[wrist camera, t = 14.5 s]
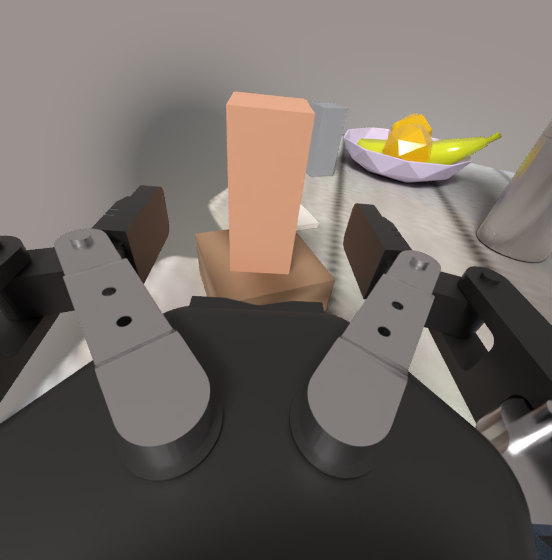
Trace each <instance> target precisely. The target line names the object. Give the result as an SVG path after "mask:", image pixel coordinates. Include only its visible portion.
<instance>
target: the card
mask: <svg viewBox="0 0 552 560" xmlns="http://www.w3.org/2000/svg"><path fill="white" fill-rule="evenodd" d="M318 225H319V222H318V221H317V220H316V219H315V218H314V217H313V216H312V215H311V214H310V213H309V212H308V211H307V210H306V209H305V208H304V207H303V206H302V205H301V204H300V210H299V216H298V222H297V228H296V231H297V230H304V229H311V228H318Z"/></svg>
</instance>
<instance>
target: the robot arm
mask: <svg viewBox="0 0 552 560" xmlns="http://www.w3.org/2000/svg"><path fill="white" fill-rule="evenodd" d="M168 234H169V221H168V215H167V209H166V203H165V198H164V193H163V190H162V188H161V187H157V186H144V185H141V186H139V188H138V189H137V190H136V191H135V192H134V193H133V194H132V195H131V196H130V197H128V196H127V197H125V198H123V199H121V200H119V201H117V202H116V203H115V204H114V205H113V206H112V207H111V208H110V209H109V210H108V211H107V212H106V214H105V215H103V217H102V218H101V219H100V220H99V221H98V222H97V223H96V224H95V225H94V226H93V227H92V228H91V229H79V230H74V231H71V232H68V233H66V234H64V235H62V236H60V237H59V238H58V239H57V240H56V241H55V243H54V247H53V248H44V249H35V250H26V248H25V247H24V245H23V243H22V242H21V240H20V239H18V238H16V237H13V236H0V402H1V400H2V399H3V398H4V396H5V395H6V393H7V392H8V390H9V389H10V387H11V386H12V384H13V383H14V381H15V380H16V378H17V377H18V375H19V374H20V372H21V371H22V369H23V368H24V366H25V365H26V363H27V362H28V360H29V359H30V357H31V356H32V354H33V353H34V351H35V350H36V349H37V347H38V346H39V344H40V343H41V341H42V340H43V338H44V337H45V335H46V333H47V332H48V331H49V329H50V328H51V326H52V324H53V323H54V322H55V320H56V319H57V317H58V315H59V314H60V313H62V312H68V311H74V310H75V312H76V314H77V317H78V320H79V323H80V325H81V328H82V331H83V333H84V336H85V339H86V342H87V344H88V347H89V350H90V353H91V355H92V358H93V360H92V361H91V362H89V363H88V364H87V365H85V366H84V367H82V368H81V369H79V370H78V371H76V372H75V373H73V374H72V375H71V376H69V377H68V378H66V379H65V380H63V381H62V382H60V383H59V384H58V385H56V386H55V387H53V388H52V389H50V390H49V391H47V392H46V393H44V394H43V395H42V396H40V397H39V398H37V399H36V400H34V401H33V402H31V403H30V404H28V405H27V406H26V407H24V408H23V409H21V410H20V411H18V412H17V413H15V414H14V415H12V416H11V417H10V418H8V419H7V420H5V421H4V422H2V423H1V424H0V560H539V559H538V555H537V551H536V546H535V542H534V536H533V535H538V536H539V537H540V538H541V539H542V540H544V541H545V542H546V543H547V544H548V545H550V546H551V547H552V325H551V324H550V323H549V322H548V321H547V320H546V319H545V318H544V317H543V316H542V315H541V314H540V313H539V312H538V311H537V310H536V309H535V308H534V307H533V306H532V305H531V304H530V302H529V301H528V300H527V299H526V298H525V297H524V296H523V295H522V294H521V293H520V292H519V291H518V290H517V289H516V288H515V287H514V286H513V285H512V284H511V283H510V282H509V281H508V280H507V279H506V278H505V277H503V276H502V275H500V274H498V273H497V272H495V271H492V270H490V269H487V268H483V267H476V266H474V267H469V268H468V269H467V270H466V271H465V273H464V274H463V275H462V277H460V276H456V275H452V274H448V273H444V272H441V266H440V264H439V263H438V262H437V261H436V260H435V259H434V258H432V257H431V256H429V255H427V254H424V253H422V252H418V251H413V250H412V249H411V248H410V246H409V245H408V244H407V242H406V241H405V240H404V238H403V237H401V236H402V235H401V234H400V233H399V231H398V230H397V228H396V227H395V226H394V224H393V223H392V222H390V221H389V220H387V219H386V218H385V217H382V216H381V214H380V213H379V211H378V210H377V208H376V207H375V206H374V205H370V204H358V203H356V204H355V205H354V207H353V209H352V212H351V216H350V219H349V222H348V225H347V229H346V232H345V235H344V242H343V246H344V250H345V253H346V255H347V258H348V260H349V263H350V265H351V268H352V271H353V273H354V276H355V278H356V281H357V283H358V286H359V288H360V291H361V294H362V296H363V299H366V300H365V302H364V303H363V305H362V306H361V308H360V309H359V311H358V312H357V314H356V315H355V317H354V318H353V320H352V321H351V323H349V322H348V321H346V320H344V319H342V318H340V317H338V316H336V315H333V314H330V313H327V312H324V308H323V303H322V302H306V301H287V302H280V303H273V304H266V305H254V304H250V303H245V302H241V301H237V300H233V299H229V298H223V297H202V296H192V298H191V302H190V305H189V306H185V307H180V308H176V309H173V310H170V311H168V312H165V313H163V314H162V312H161V310H160V309H159V307H158V306H157V304H156V303H155V301H154V300H153V298H152V297H151V295H150V293H149V292H148V290H147V289H146V287H145V286H144V283H145V281H146V279H147V277H148V275H149V273H150V271H151V269H152V267H153V265H154V263H155V261H156V259H157V257H158V255H159V253H160V251H161V249H162V247H163V245H164V243H165V241H166V239H167V237H168ZM477 237H478V238H479V239H480V241H482V242H483V243H484V244H485V245H487V246H488V247H489V248H491V249H493V250H495V251H496V252H499V253H501V254H503V255H505V256H508V257H511V258H514V259H518V260H522V261H527V262H541V261H543V260H545V259H546V258H547V257H548V256H549V255H550V253H551V252H552V119H551V121H550V123H549V124H548V126H547V127H546V128H545V130H544V131H543V133H542V135H541V136H540V138H539V139H538V141H537V142H536V144H535V145H534V147H533V148H532V150H531V151H530V153H529V154H528V156H527V157H526V159H525V160H524V162H523V163H522V165H521V166H520V168H519V169H518V171H517V172H516V174H515V175H514V177H513V178H512V180H511V181H510V183H509V184H508V186H507V187H506V189H505V190H504V192H503V193H502V195H501V196H500V198H499V199H498V201H497V202H496V204H495V205H494V207H493V208H492V209H491V211H490V212H489V214H488V215H487V217H486V218H485V220H484V221H483V223H482V224H481V226H480V227H479V229H478V230H477ZM484 323H485V324H486V325H487V327H488V328H489V330H490V331H491V332H492V334H493V337H494V345H493V348H492V349H491V350H490V351H489V352H488V351H487V349H486V348H485V346H484V345H483V343H482V342H481V340H480V339H479V337H478V336H477V334H476V333H475V332H476V331H477V330H478V329H479V328H480V327H481V326H482V325H483V324H484ZM424 327H426V328H428V329H429V331H430V333H431V335H432V337H433V339H434V341H435V343H436V345H437V347H438V349H439V351H440V353H441V355H442V357H443V359H444V361H445V363H446V365H447V367H448V369H449V371H450V373H451V375H452V377H453V379H454V381H455V383H456V385H457V387H458V389H459V391H460V392H461V394H462V396H463V398H464V400H465V402H466V404H467V406H468V408H469V410H470V412H471V414H472V416H473V418H474V420H475V422H476V428H475V427H473V426H472V425H471V424H470V423H469V422H468V421H466V420H465V419H464V418H463V417H462V416H460V415H459V414H458V413H457V412H456V411H455V410H453V409H452V408H451V407H450V406H449V405H447V404H446V403H445V402H444V401H443V400H442V399H440V398H439V397H438V396H437V395H436V394H434V393H433V392H432V391H431V390H430V389H429V388H427V387H426V386H425V385H424V384H423V383H421V382H420V381H419V380H418V379H417V378H416V377H414V376H413V375H412V374H411V373H410V372H408V369H409V366H410V363H411V361H412V358H413V355H414V352H415V350H416V347H417V344H418V341H419V339H420V336H421V333H422V331H423V328H424Z"/></svg>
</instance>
